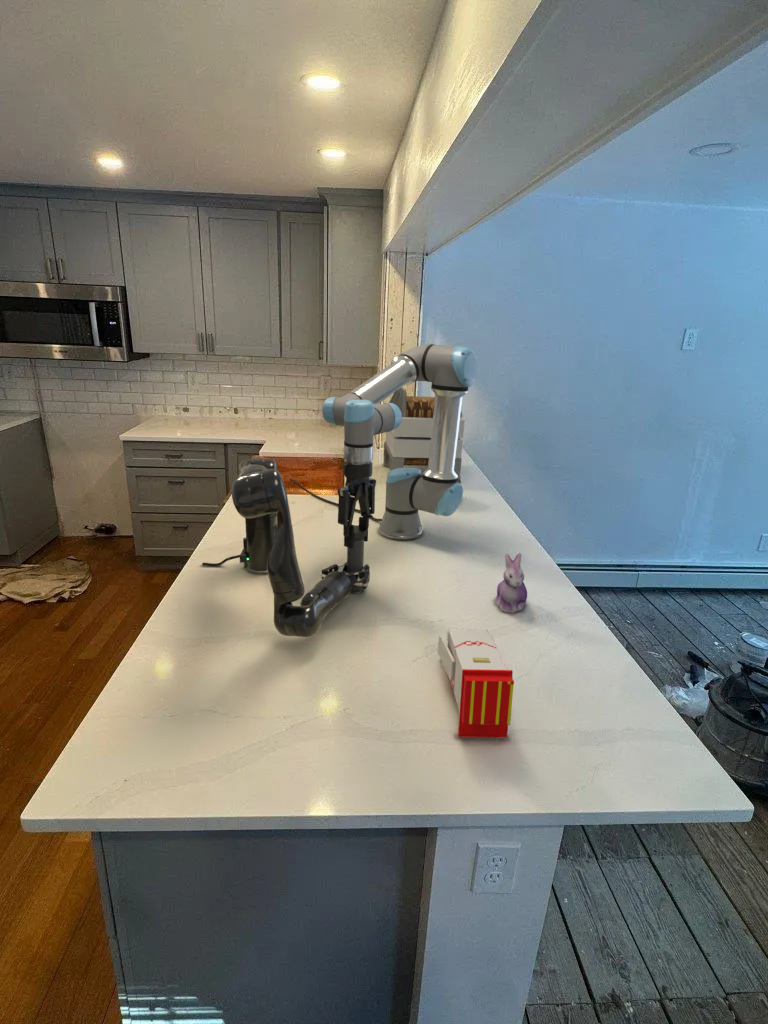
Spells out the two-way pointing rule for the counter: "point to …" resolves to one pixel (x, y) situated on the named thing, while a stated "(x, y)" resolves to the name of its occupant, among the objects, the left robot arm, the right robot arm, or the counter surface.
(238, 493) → the left robot arm
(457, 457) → the white wooden crate
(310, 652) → the counter surface
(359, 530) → the lid
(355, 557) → the dark grey cylinder
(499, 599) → the figurine
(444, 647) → the toy
